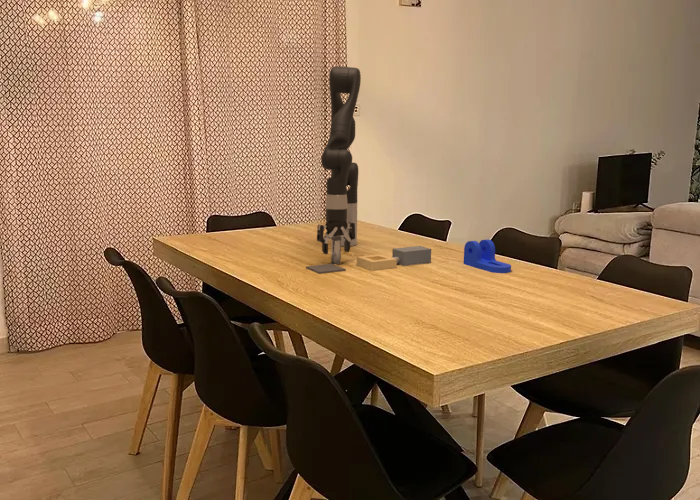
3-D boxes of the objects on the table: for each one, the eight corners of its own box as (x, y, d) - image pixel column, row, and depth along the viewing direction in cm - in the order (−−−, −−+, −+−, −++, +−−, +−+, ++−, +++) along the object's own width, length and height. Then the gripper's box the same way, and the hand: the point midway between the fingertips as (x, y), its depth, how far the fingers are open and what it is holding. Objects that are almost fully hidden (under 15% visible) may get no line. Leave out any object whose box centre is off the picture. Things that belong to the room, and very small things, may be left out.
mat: (305, 268, 241) (305, 266, 241) (331, 265, 246) (331, 263, 246) (319, 273, 232) (319, 272, 232) (345, 270, 237) (345, 269, 237)
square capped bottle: (329, 263, 250) (329, 236, 248) (337, 262, 251) (337, 235, 250) (334, 264, 247) (334, 237, 245) (342, 263, 248) (342, 236, 247)
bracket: (463, 264, 251) (464, 239, 249) (481, 262, 255) (482, 238, 253) (497, 274, 235) (498, 248, 234) (515, 272, 239) (517, 246, 238)
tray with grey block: (371, 270, 238) (372, 256, 237) (356, 265, 246) (356, 251, 246) (433, 263, 251) (433, 249, 250) (416, 258, 260) (417, 245, 259)
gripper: (348, 204, 252) (348, 249, 255) (313, 207, 245) (313, 252, 248) (359, 207, 246) (358, 252, 249) (323, 209, 239) (323, 256, 241)
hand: (336, 252), depth 248 cm, fingers open, 8 cm apart
